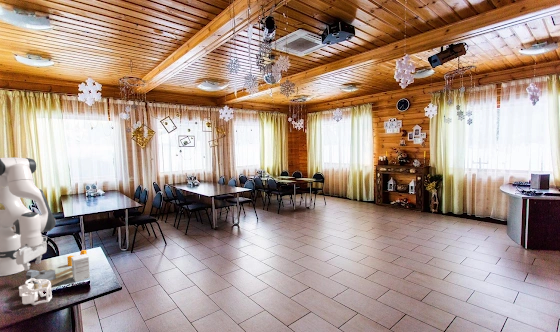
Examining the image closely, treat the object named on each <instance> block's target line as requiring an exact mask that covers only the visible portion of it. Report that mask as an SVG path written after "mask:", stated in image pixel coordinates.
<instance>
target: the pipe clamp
mask: <svg viewBox="0 0 560 332" xmlns="http://www.w3.org/2000/svg"><path fill="white" fill-rule="evenodd" d="M82 254H86V255H87V256H88V254H87V249H82V250H80V254H79V255H82ZM71 257H74V255H68V256H67V257H66V258H67V259H66V260H67V266H68V267H72V261H71Z"/></svg>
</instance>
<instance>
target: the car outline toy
mask: <svg viewBox="0 0 560 332" xmlns="http://www.w3.org/2000/svg"><path fill="white" fill-rule="evenodd" d="M33 281H35V282H38V287H39V289H36V290H34V283H33ZM28 282H31V283H28ZM41 282H42V283H41ZM44 284H48V287H45V288H42V285H44ZM18 291H19V297H21V301H22V302H21V303H22V304H23V305H29V304H31V305H32V306H36V305H41V304H44V303H49V302H50V301H51V300H52V299H53V295H52V294H53V293H52V286H51V282H50V281H49V280H47V279H45V280H44V279H35V278H31V279H29V280H25V283H24V284H22V285H20V286H18ZM42 291H46V293H45V294H44V293H43V292H42ZM39 296H40V298H43V297H45V298H46V299H42V300H39ZM38 300H39V301H38Z"/></svg>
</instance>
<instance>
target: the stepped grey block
mask: <svg viewBox="0 0 560 332" xmlns="http://www.w3.org/2000/svg"><path fill="white" fill-rule="evenodd" d="M25 274H26V275H25V276H26V277H25V279H26V280H25V281H27V280H29V279H31V278H32V276H34V275H37V274H40V271H39V270H35V269H29V270H26V272H25ZM28 283H31V282H28Z"/></svg>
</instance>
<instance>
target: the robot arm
mask: <svg viewBox="0 0 560 332" xmlns="http://www.w3.org/2000/svg"><path fill="white" fill-rule="evenodd" d="M36 171H37V161H36V160H35V159H33V158H28V157H26V158H25V157H15V156H14V157H13V156H12V157H0V204H1V205H3V207H4V209H0V277H5V276H11V275H13V274H14V275H15V274H19V273H21V272H23V271H26V272H27V271H29V270H31V263H30V261H33V260H35V259H36V260H35V264H36V265H39V264H41V260H42V258H43V255H44V254H46V253H47V250H48V249H47V248H48V247H47V245H48V244H47V240H48V237H47V236H43V235H42V233H44V232H50V231H52V230H53V229H54V228H55V227H56V223H57V222H56V218H55V216H54V214H53V213H52V210H51V208H50V205H49V202H48V200H47V197H46V195H45V193H44V191H43V190H42V189H40V188H39V187H37V186H36V184H35V182H34V176H33V174H34V173H35V172H36ZM21 199H28V200H32V201H34V202H36V203H37V205H38V207H39V211H40V213H41V215H40V214H39V213H38V212H35V211H34V212H33V211H32V210H31V209H29V208H28V207H26V205H24V202H23V201H22V200H21Z"/></svg>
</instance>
